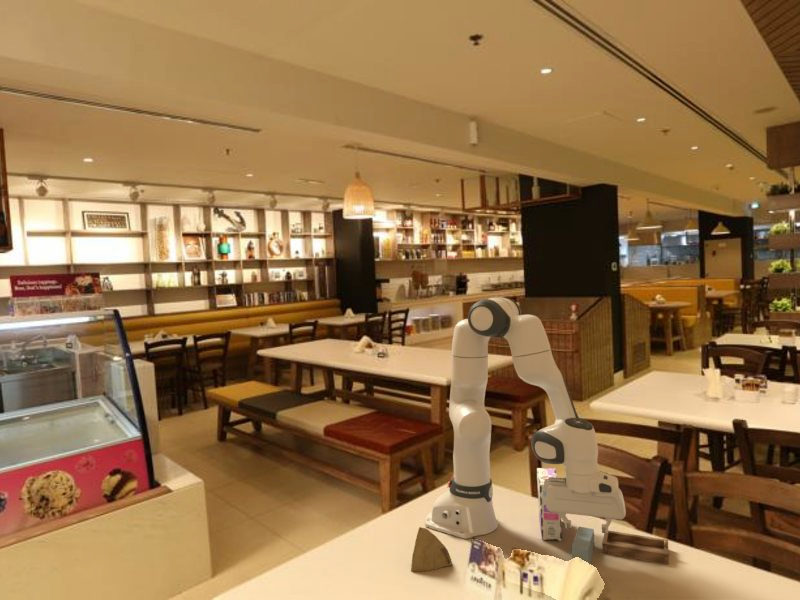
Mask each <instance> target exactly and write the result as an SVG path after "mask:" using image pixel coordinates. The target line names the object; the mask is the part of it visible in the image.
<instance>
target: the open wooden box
mask: <svg viewBox="0 0 800 600" xmlns="http://www.w3.org/2000/svg"><path fill="white" fill-rule="evenodd" d="M601 546H602V547H601V548H602V550H601V551H602V553H603V554H607V555H608V554H609V555H615V556H619V557H626V558H630V559H631V558H632V559H637V560H642V561H647V562H654V563H659V564H665V565H669V564H670V563H669V559H670V558H669V540H668V539H664V538H657V537H651V536H644V535H639V534H634V533H628V532H627V533H626V532H620V531H615V530H609V529H608V533H603V538H602V543H601Z"/></svg>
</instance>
